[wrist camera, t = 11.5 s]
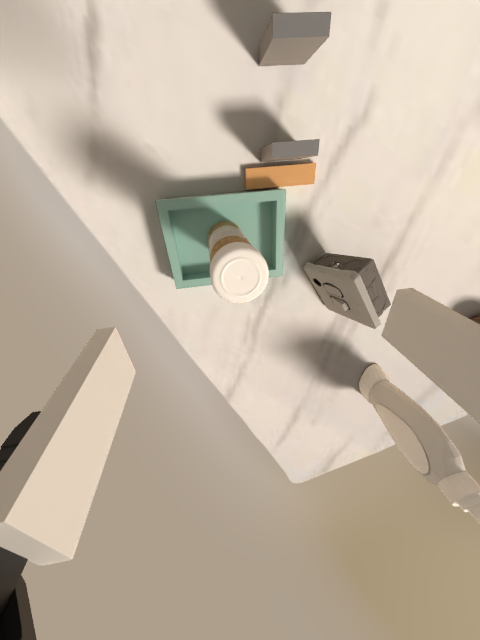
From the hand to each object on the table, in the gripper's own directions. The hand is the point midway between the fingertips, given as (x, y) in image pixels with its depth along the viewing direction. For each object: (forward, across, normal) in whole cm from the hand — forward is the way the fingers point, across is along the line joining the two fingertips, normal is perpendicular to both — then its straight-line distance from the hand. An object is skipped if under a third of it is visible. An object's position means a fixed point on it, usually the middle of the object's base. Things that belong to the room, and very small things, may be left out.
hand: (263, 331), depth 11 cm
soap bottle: (+21, +29, -32) cm, 48 cm away
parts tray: (+21, 0, 0) cm, 21 cm away
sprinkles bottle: (+21, 0, 0) cm, 21 cm away
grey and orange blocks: (+21, +7, +10) cm, 25 cm away
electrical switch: (+22, +15, -7) cm, 27 cm away
